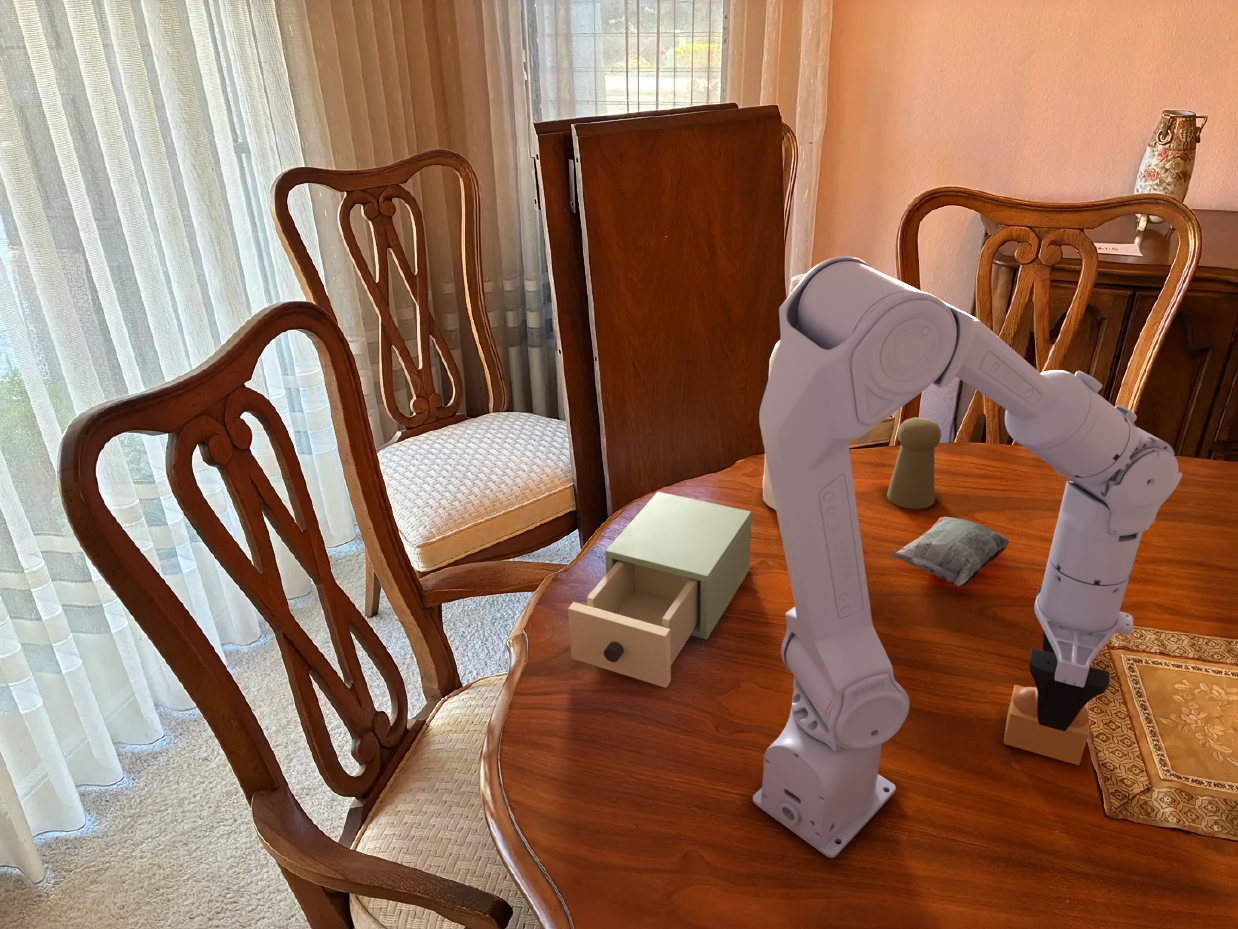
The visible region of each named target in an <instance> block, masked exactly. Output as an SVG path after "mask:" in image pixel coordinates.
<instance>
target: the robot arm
mask: <svg viewBox="0 0 1238 929" xmlns="http://www.w3.org/2000/svg"><path fill="white" fill-rule="evenodd" d="M805 274H806V276H805V277H804V278H803V279H802V280H801V282H800V283H799V284H798V285H797V287H796V288H795V289H794V290H793V292H792V293H791V294H790V293H789V295H788V296H787V298H786V299H785V300H784V301H783V303H782V304H781V305H780V306H779V309H778V315H779V329H780V339H779V341H780V343H779V346H778V349H777V353H776V356H775V359H774V363H773V366H772V370H771V373H770V376H769V375H768V380H767V383H766V386H765V390H764V392H763V396H762V400H761V404H760V408H759V411H758V412H759V413H758V415H759V420H758V422H759V423H758V424H759V428H760V433H761V440H762V444H763V447H764V455H765V454H766V460H767V465H768V470H769V475H770V480H771V486H772V491H773V496H774V501H775V506H776V510H775V511H776V515H777V516H776V517H777V522H778V526H779V532H780V536H781V541H782V547H783V552H784V558H785V562H786V569H787V573H788V578H789V583H790V589H791V593H792V599H793V605H794V607H792V608H791V609H789V610H788V611H787V612H785V614H784V618H785V624H786V630H785V635H784V638H783V640H782V644H781V647H780V655H781V660H782V662H783V664H784V665H785V667H786V668H787V669H788V671H789V672H791V673H792V675H793V680H792V688H793V693H792V696H791V697H792V698H791V707H790V712H789V716H788V719H787V722H786V724H785V726H784V728H783V730H782V731H781V733H780V735H779V736H778V737H777V738H776V739H775V740H774V741H773V742H772V743H771V744H770V745H769V746H768V747H767V749H766V751H765V752H764V755H763V766H762V780H761V782H762V783H761V788H760V789H758V790H757V791H756V792H755V793H754V794H753V795H752V803H753V804H754V805H756V806H757V807H758V808H759V809H761V810H762V811H763V812H765V813H767V814H768V815H769V816H771V818H773V819H774V820H776V821H777V822H779V823H780V824H781V825H783V826H784V827H786V828H787V829H788V830H789V831H791V832H792V833H794V834H795V835H797V836H798V837H799V838H800V839H802V840H804V841H805V842H806V843H807V844H809V845H810V846H812V848H815V849H816V850H817V851H819V852H820V853H821V854H823V855H824V856H826V857H827V858H830V859H834V858H836V857H837V856H838V855H839V854H840V853H841V852H842V851H843V849H845V847H846V846H847V845H848V844H849V843H850V842H851V841H852V840H853V839H854V837H856V835H857V834H858V833H860V831H861V830H862V829H863V828H864V827H865V825H866V824H867V823H869V821H870V820H871V819H872V818H873V817H874V816H875V815H876V814H877V813H878V812H879V811H880V810H881V809H882V807H883V806H884V805H885V804H886V803H887V802H888V801H889V799H891V798H892V796H893V795H895V793H896V789H897V787H896V785H895V784H894V783H893V782H891V781H889V779H887V778H885V777H883V776H882V775H880V774H879V770H880V769H879V768H880V763H881V756H882V748H883V744H884V743H886V742H887V741H889V740H890V739H891V738H892V737H894V736H895V735H896V734H897V733H898V732H899V730H900V729H901V727H902V726H903V725H904V723H905V721H906V719H907V717H908V715H909V711H910V698H909V696H908V693H907V692H906V690H905V689H904V688H903V687H902V686H901V685H900V684H899V683H898V682H897V681H896V679H895V675H894V669H893V665H892V662H891V660H890V658H889V655H888V654H887V652H886V650H885V648H884V646H883V643H882V642H881V640H880V638H879V636H878V633H877V631H876V629H875V627H874V624H873V619H872V610H871V604H870V603H871V602H870V596H869V589H868V588H869V587H868V581H867V574H866V566H865V561H864V560H865V558H864V552H863V544H862V536H861V530H860V521H859V514H858V505H857V499H856V490H855V485H854V484H855V483H854V476H853V468H852V460H851V454H850V446H849V445H850V442H851V441H852V440H858V439H861V438H862V437H864V436H865V435H866V434H868V433H869V432H871V431H872V430H873V429H875V428H876V427H877V426H879V425H880V424H881V423H882V422H883V421H885V420H886V419H888V418H889V417H890V416H891V415H893V414H895V413H896V412H897V411H899V410H900V409H901V408H902V407H904V406H905V405H906V404H908V403H909V402H911V401H912V400H913V399H915V398H917V396H918V395H920V394H921V393H923V392H924V391H925V390H926V389H928V388H929V387H930V386H931V385H932V384H933V385H935V386H936V387H937V388H946V387H948V386H949V384H951V382H952V381H953V380H954V379H955V377H956V378H957V379H959V380H961V381H962V382H964V383H965V384H967V385H968V386H970V387H971V388H973V389H974V390H976V391H978V392H979V393H980V394H982V395H983V396H985V397H986V398H988V399H989V400H991V401H992V402H994V403H996V404H997V405H998V406H1000V407H1001V408H1003V409H1005V412H1004V425H1005V429H1006V431H1007V434H1008V435H1009V436H1010V437H1011V439H1013V441H1015V442H1016V443H1017V444H1019V445H1021V447H1024V448H1025V449H1026V450H1028V451H1029V452H1030V453H1032V454H1033V455H1034V456H1036V457H1037V458H1039V459H1041V460H1042V461H1043V462H1045V463H1046V464H1048V465H1049V466H1051V467H1052V468H1053V469H1054V471H1055V473H1056V474H1057V475H1063V476H1065V478H1067V480H1066V482H1065V487H1064V490H1063V495H1062V499H1061V503H1060V506H1059V507H1060V508H1059V512H1058V515H1057V516H1058V518H1057V521H1056V525H1055V529H1054V533H1053V537H1052V541H1051V546H1050V550H1049V555H1048V558H1047V563H1046V567H1045V571H1044V575H1043V580H1042V582H1041V583H1042V584H1041V586H1039V587H1038V588H1037V589H1036V598H1035V601H1034V607H1033V610H1034V614H1035V616H1036V618H1037V620H1038V622H1039V625H1040V626H1041V629H1042V632H1043V637H1042V638H1043V639H1042V649H1039V648H1038V649H1037V648H1034V647H1031V648H1030V650H1029V661H1028V667H1029V668H1028V669H1029V672H1030V675H1031V677H1032V679H1033V681H1034V684H1035V688H1037V696H1038V698H1037V717H1038V723H1039V724H1040V725H1043V726H1046V727H1050V728H1053V729H1057V730H1061V731H1066V730H1067V729H1068V728H1069V726H1070V725H1071V724H1072V722H1073V721H1074V719H1075V718H1076V716H1077V715H1078V713H1079V712H1080V711H1081V709H1082V708H1083V707H1084V706H1085V705H1086V704H1089V702H1090V701H1091V700H1093V699H1094V698H1096V697H1098V696H1100V695H1102V694H1104V693H1105V692H1106V691H1107V689H1108V688H1109V685H1110V679H1111V678H1110V671H1109V670H1105V669H1100V668H1098V667H1097V668H1096V667H1092V666H1090V665H1091V664H1092V663H1093V661H1094V660H1095V658H1096V657H1097V656H1098V654H1099V653H1101V651H1103V649H1104V647H1105V646H1106V645H1107V644H1108V642H1110V640H1111V639H1112V637H1114V635H1115V634H1122V635H1131V634H1132V632H1133V629H1134V617H1133V615H1131V614H1130V613H1127V612H1124V611H1121V607H1122V604H1123V601H1124V597H1125V593H1126V590H1127V587H1128V584H1129V580H1130V577H1131V573H1132V571H1133V567H1134V564H1135V560H1136V556H1137V553H1138V549H1139V546H1140V543H1141V540H1142V537H1143V532H1145V531H1148V530H1149V529H1150V527H1151V525H1153V524H1154V523H1155V521H1156V518H1157V515H1158V512H1159V510H1160V508H1161V507H1162V505H1163V504H1164V503H1165V502H1166V501H1167V500H1168V499H1169V498H1170V496H1171V495H1172V494H1173V492H1174V491H1175V490H1176V488H1177V487H1178V485H1179V483H1180V482H1181V479H1182V476H1183V473H1182V472H1179V462H1178V460H1177V458H1176V457H1175V456H1176V454H1175V451H1174V449H1173V447H1172V446H1171V445H1170V444H1169V442H1166V441H1165V440H1162V439H1160V438H1159V437H1157V436H1154V435H1153V434H1151V433H1149V432H1148V431H1145V430H1143V429H1141V428H1140V427H1138V426H1137V425H1136V424H1135V421H1137V418H1138V416H1137V415H1136V414H1135V413H1134V412H1133V411H1132V410H1131V409H1128V408H1127V407H1125V406H1123V405H1121V404H1117V405H1115V406H1114V405H1113V404H1112V403H1110V402H1109V401H1108V400H1106V399H1105V397H1103V396H1101V395H1100V394H1099V391H1100V390H1101V389H1102V388H1103V384H1102V383H1101V382H1099V380H1097V379H1096V378H1095V377H1093V376H1091V375H1089V374H1087V373H1086V372H1083V371H1081V370H1078V371H1076V372H1075V373H1074V374H1073V373H1071V372H1069V371H1067V370H1061V369H1060V370H1059V369H1053V370H1046V371H1043V372H1039V371H1038V369H1036V368H1035V367H1034V366H1032V365H1031V363H1029V362H1028V361H1027V360H1026V359H1024V358H1023V356H1022V355H1020V354H1019V353H1017V351H1015V350H1014V349H1013V348H1012V347H1011V346H1009V345H1008V343H1006V342H1005V341H1004V340H1002V339H1001V338H1000V337H999V336H998V335H997V334H995V333H994V331H992V330H991V329H990V328H989V327H988V326H986V325H985V324H984V323H983V322H982V321H981V320H980V319H978V318H976V317H975V316H973V315H971V314H969V313H967V312H966V311H962V310H960V309H959V308H957V307H955V306H953V305H951V304H948V303H946V302H945V301H943V300H941V298H939V297H938V296H935V295H933V294H931V293H928V292H924V291H922V290H920V289H917V288H915V287H914V286H911V285H909V284H907V283H905V282H903V281H900V280H899V279H897V278H894V277H893V276H890V275H888V274H884V273H882V272H880V271H878V270H876V269H874V268H873V267H872V266H871V264H869V263H867V262H866V261H864V260H863V259H860V258H859V257H854V256H849V255H848V256H847V255H840V256H835V257H830V258H827V259H825V260H823V261H821V262H820V263H818V264H816V265H815V266H813V267H812V268H811V269H810V270H809V271H808V272H807V273H805ZM838 843H839V844H838Z"/></svg>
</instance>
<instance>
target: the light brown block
mask: <svg viewBox="0 0 1238 929" xmlns="http://www.w3.org/2000/svg"><path fill="white" fill-rule="evenodd" d="M1037 698H1038V696H1037V688H1036V686H1035V687H1033V686H1026V687H1025V686H1022V685H1018V684H1014V686H1013V690H1012V694H1011V698H1010V703H1009V706H1008V710H1007V716H1006V723H1005V729H1004V730H1005V731H1004V739H1003V744H1004V745H1007V746H1009V747H1014V748H1017V749H1020V750H1024V751H1027V752H1031V753H1034V754H1037V755H1040V756H1045V757H1048V758H1052V759H1056V760H1058V761H1062V762H1065V763H1067V764H1068V763H1069V764H1072V765H1075V766H1080V764H1081V761H1082V757H1083V753H1084V751H1085V748H1086V744H1087V741H1088V738H1089V722H1090V720H1089V718H1090V716H1089V715H1090V704H1089V703H1087V704H1086V705H1085V706H1084V707H1083V708H1082V709H1081V711H1080V712H1079V713H1078V715H1077V716H1076V718H1075V719H1074V721H1073V722H1072V724H1071V725H1070V726H1069V728H1068V729H1067V730H1066V731H1061V730H1057V729H1053V728H1050V727H1046V726H1043V725H1040V724H1039V723H1038V717H1037Z"/></svg>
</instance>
